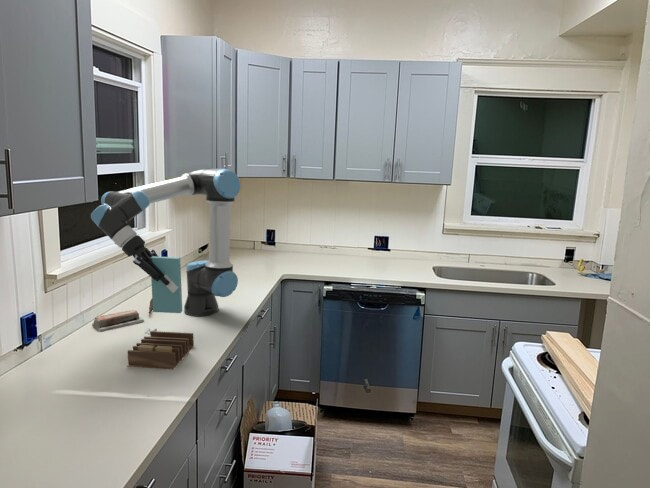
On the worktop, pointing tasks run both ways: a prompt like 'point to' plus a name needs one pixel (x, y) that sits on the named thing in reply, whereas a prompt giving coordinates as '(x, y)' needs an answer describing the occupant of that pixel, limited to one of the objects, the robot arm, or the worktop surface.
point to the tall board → (160, 293)
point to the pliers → (150, 331)
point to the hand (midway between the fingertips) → (177, 289)
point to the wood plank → (150, 307)
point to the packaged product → (117, 320)
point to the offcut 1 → (146, 348)
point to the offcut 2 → (163, 349)
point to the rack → (161, 360)
